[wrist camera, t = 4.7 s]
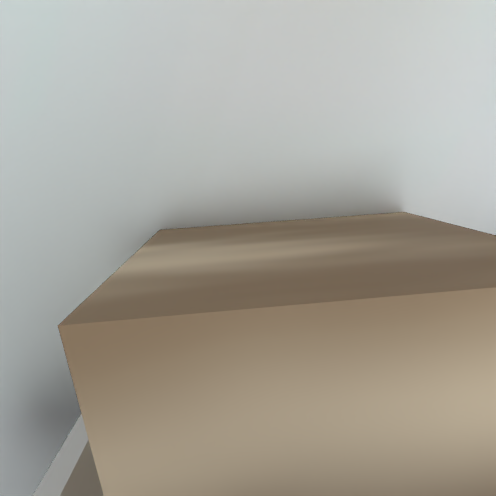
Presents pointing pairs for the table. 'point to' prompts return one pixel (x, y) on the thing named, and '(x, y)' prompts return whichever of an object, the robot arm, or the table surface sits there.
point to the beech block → (293, 361)
